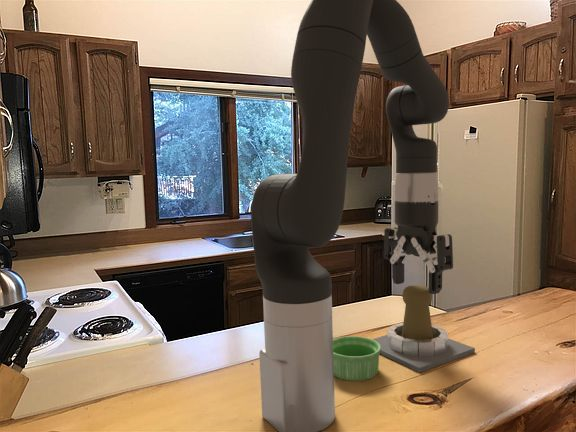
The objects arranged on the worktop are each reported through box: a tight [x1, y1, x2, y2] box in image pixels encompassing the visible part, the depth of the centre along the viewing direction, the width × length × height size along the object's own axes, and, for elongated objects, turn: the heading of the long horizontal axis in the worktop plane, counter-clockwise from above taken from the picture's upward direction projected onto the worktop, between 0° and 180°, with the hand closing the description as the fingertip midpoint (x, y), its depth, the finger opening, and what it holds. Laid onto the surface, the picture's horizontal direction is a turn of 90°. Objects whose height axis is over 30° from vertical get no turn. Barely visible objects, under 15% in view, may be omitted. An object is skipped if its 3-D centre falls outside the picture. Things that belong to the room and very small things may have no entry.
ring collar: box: [386, 322, 449, 357], centre depth 85 cm, size 10×10×2 cm
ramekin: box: [333, 335, 381, 382], centre depth 77 cm, size 9×9×4 cm
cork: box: [402, 284, 433, 340], centre depth 85 cm, size 6×6×11 cm
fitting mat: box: [371, 334, 476, 374], centre depth 85 cm, size 14×14×1 cm
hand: (415, 288), depth 84 cm, fingers open, 8 cm apart
